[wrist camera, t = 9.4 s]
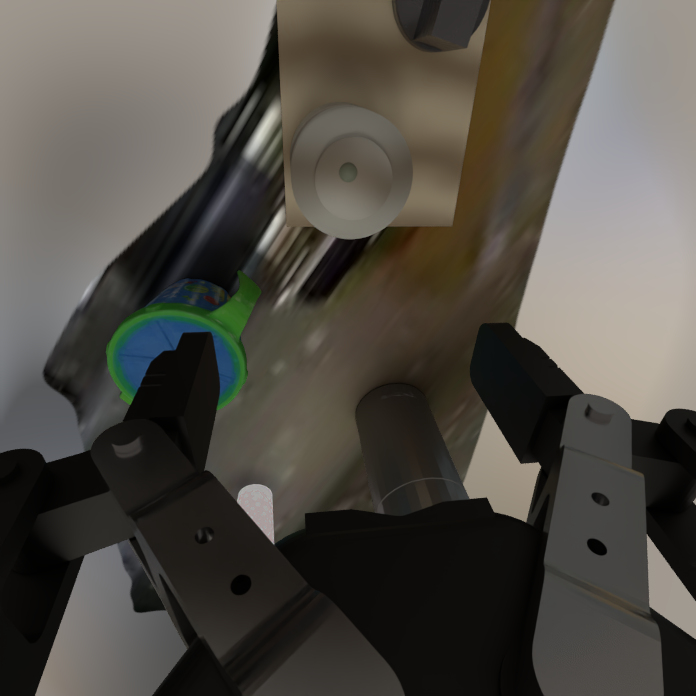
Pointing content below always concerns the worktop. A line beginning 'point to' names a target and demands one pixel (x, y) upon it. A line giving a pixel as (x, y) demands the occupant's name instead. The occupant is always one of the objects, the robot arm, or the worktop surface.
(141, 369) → the snack cup
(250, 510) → the beverage cup
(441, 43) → the dark grey rotary knob
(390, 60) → the base
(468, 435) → the worktop surface
